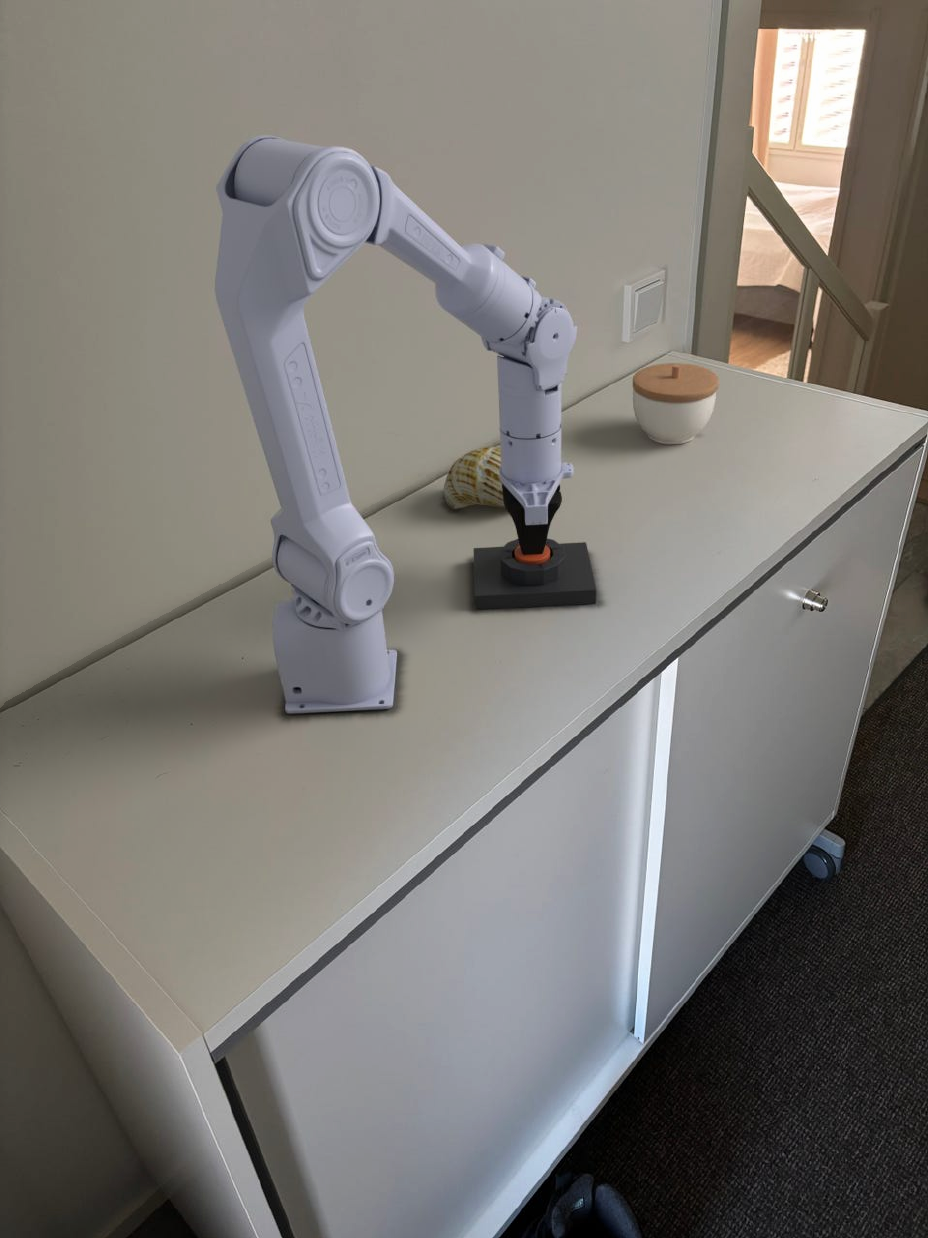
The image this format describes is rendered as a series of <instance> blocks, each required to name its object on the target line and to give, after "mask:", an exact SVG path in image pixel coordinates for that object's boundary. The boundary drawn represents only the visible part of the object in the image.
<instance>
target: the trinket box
mask: <svg viewBox="0 0 928 1238" xmlns="http://www.w3.org/2000/svg"><path fill="white" fill-rule="evenodd" d="M719 385H720V379H719V377H718V375H717V374H716V373H715V372H714V371H713V370H710V369H709V368H706V367H703V366H701V365H696V364H689V363H683V362H681V363H680V362H677V363H675V362H668V363H660V364H653V365H650V366H646V367H644V368H642V369H640V370H638V371H636V372H635V374H634V375H633V377H632V403H633V404H632V405H633V411H634V417H635V419H636V421H637V423H638V425H639V427H640V428H641V429H642V430H643V431H644V432H645V434H647V437H648V438H649V439H650V440H652V441H653V442H656V443H659V444H664V445H681V444H685V443H689V442H690V441H692V440H694V438H695V436H697V435H698V434H699V433H700V432H701V431H703V430H704V428H705V427H706V426H707V425H708V423H709V421H710V419H711V418H712V415H713V412H714V410H715V405H716V400H717V392H718V389H719Z"/></svg>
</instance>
